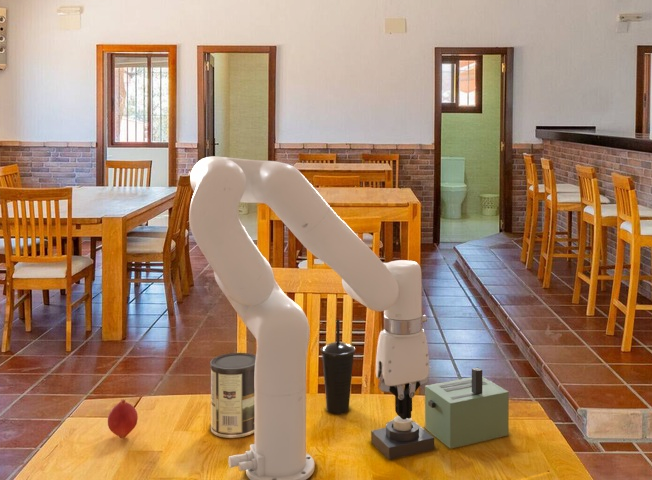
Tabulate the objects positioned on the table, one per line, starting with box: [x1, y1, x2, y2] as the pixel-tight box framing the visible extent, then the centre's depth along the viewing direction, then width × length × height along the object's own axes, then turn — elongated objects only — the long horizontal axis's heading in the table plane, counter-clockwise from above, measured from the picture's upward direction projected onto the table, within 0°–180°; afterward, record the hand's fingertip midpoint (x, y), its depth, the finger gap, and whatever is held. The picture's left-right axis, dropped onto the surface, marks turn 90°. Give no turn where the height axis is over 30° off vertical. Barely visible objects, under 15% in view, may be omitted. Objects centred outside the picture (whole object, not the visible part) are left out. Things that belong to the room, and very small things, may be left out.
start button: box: [392, 415, 413, 431], centre depth 140 cm, size 4×4×2 cm
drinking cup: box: [320, 319, 356, 415], centre depth 157 cm, size 8×8×20 cm
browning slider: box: [471, 367, 483, 394], centre depth 144 cm, size 2×2×5 cm
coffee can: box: [209, 352, 256, 439], centre depth 148 cm, size 10×10×14 cm
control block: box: [370, 419, 435, 461], centre depth 140 cm, size 10×8×4 cm
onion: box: [107, 398, 139, 439], centre depth 144 cm, size 6×6×8 cm
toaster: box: [424, 375, 510, 449], centre depth 146 cm, size 15×10×9 cm
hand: (403, 416), depth 140 cm, fingers closed
